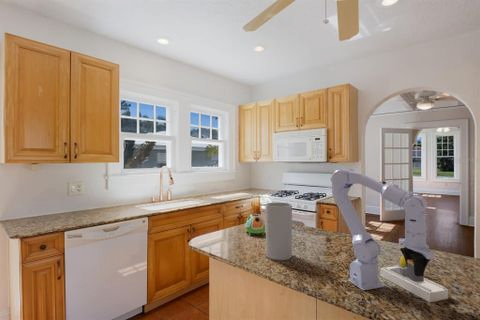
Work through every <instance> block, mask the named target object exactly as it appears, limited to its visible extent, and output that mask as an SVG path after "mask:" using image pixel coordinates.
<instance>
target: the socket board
mask: <svg viewBox="0 0 480 320" xmlns="http://www.w3.org/2000/svg"><path fill="white" fill-rule="evenodd" d="M394 268H402V267H401V266H399V265H398V264H395V265H394V266H388V267H387V266H386V267H385V266H382V267H381V268H380V271H379V273H380V274H379V275H380V277H382V278H384V279H386V280H387V281H389V282H391V283H393V284H395V285H397V286H398V285H399V287H400V288H402V289H404V290H406V291H408V292H409V293H411V294H413V295H416V296H417V297H418V298H421V299H423V300H424V301H426V302H428V303H433V302H439V301H443V300H448V299H449V289H447V288H446V287H445V286H443V285H441V284H439V283H438V282H437V283H436V282H435V281H433V280H430V279H429V278H426V277H424V282H414V281H412V280H411V279H409V278H408V277H407V276H402V275H400V274H398V273H396V272H394V271H392V270H390V269H394Z"/></svg>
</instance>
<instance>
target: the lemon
mask: <svg viewBox="0 0 480 320" xmlns="http://www.w3.org/2000/svg"><path fill="white" fill-rule="evenodd" d="M399 264H400V267H402V268H404V267H407V265H406V262H405V258H404V256H403V254H402V255H401V256H400V259H399Z"/></svg>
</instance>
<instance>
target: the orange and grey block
mask: <svg viewBox="0 0 480 320" xmlns="http://www.w3.org/2000/svg"><path fill="white" fill-rule="evenodd" d="M424 274H425V273H424ZM424 274H423V276H416V275H415V271H414V263H413V260H412V259H407V277H408V278H409V279H411V280H412V281H414V282H424V278H425V275H424Z"/></svg>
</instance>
